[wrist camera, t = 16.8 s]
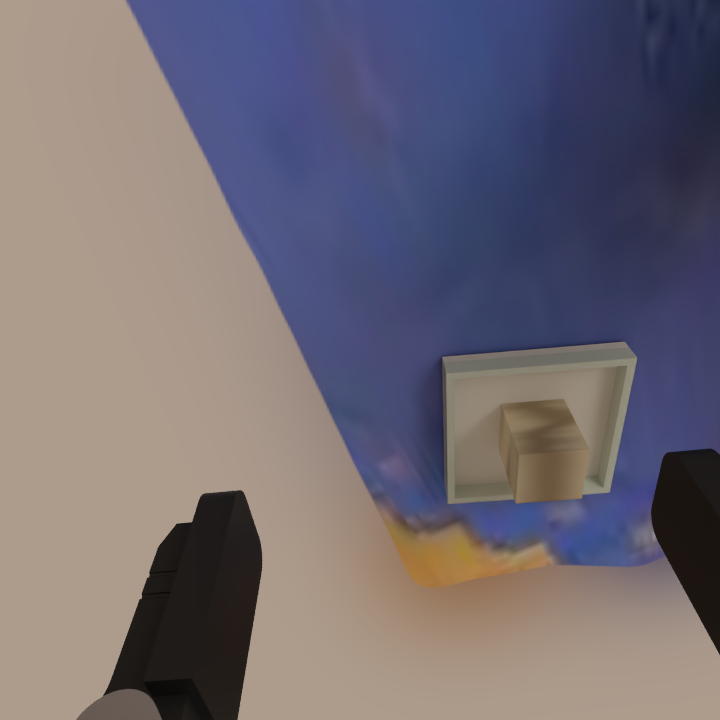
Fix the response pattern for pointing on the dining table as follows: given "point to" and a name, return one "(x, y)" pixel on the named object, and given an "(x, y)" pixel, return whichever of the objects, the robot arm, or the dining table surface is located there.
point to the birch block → (542, 451)
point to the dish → (525, 384)
